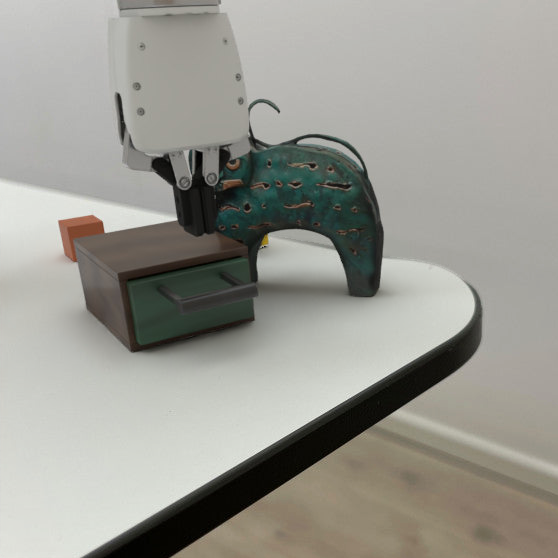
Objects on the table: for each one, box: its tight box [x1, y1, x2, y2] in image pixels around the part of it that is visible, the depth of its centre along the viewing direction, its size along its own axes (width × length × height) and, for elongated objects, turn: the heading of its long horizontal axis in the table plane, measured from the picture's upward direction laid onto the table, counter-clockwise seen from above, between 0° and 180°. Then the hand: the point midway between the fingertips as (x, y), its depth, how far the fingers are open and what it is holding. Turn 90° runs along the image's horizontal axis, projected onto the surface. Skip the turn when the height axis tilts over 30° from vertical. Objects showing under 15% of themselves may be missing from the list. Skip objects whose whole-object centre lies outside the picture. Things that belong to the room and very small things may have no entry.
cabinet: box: [73, 219, 256, 353], centre depth 77 cm, size 15×13×8 cm
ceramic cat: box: [187, 98, 385, 297], centre depth 81 cm, size 20×6×20 cm, turn 75°
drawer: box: [126, 257, 259, 345], centre depth 73 cm, size 20×11×6 cm, turn 34°
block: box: [57, 214, 106, 263], centre depth 99 cm, size 4×4×4 cm
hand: (199, 231), depth 65 cm, fingers closed
